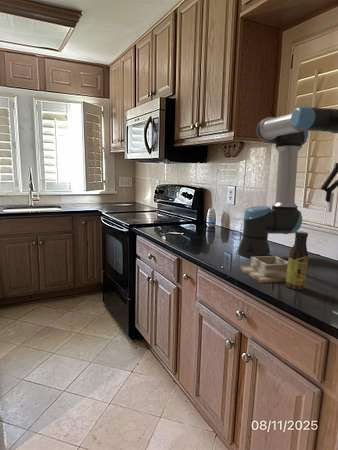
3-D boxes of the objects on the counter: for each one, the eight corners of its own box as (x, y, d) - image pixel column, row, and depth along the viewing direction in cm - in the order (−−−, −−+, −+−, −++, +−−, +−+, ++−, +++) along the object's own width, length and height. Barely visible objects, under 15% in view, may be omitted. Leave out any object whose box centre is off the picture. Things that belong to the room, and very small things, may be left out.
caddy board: (239, 268, 130) (240, 255, 129) (277, 267, 134) (279, 254, 133) (260, 282, 114) (262, 267, 113) (302, 280, 119) (304, 265, 118)
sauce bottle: (297, 291, 107) (304, 234, 104) (281, 286, 112) (287, 231, 108) (308, 288, 111) (315, 232, 107) (292, 282, 116) (298, 229, 112)
